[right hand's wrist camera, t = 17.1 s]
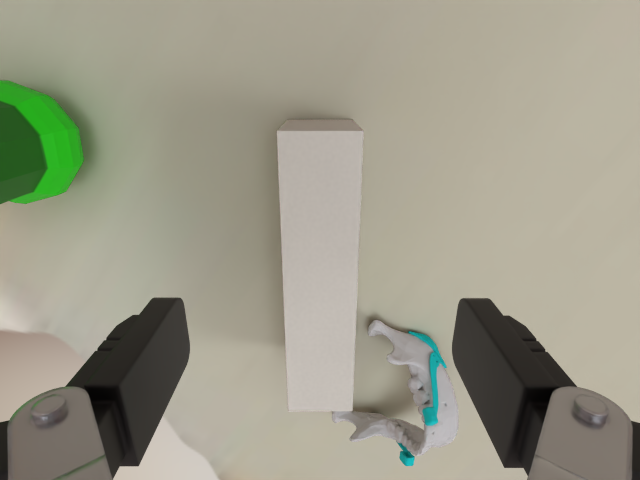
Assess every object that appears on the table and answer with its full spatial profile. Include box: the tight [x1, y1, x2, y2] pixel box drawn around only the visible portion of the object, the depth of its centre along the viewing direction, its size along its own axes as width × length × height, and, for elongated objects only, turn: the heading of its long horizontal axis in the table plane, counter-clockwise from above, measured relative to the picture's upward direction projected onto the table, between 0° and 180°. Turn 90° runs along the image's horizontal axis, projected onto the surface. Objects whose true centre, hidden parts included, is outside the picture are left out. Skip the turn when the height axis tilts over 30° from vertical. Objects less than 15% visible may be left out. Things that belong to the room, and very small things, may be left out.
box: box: [277, 120, 364, 411], centre depth 36 cm, size 25×6×9 cm, turn 0°
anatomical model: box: [332, 320, 458, 466], centre depth 42 cm, size 15×10×10 cm
